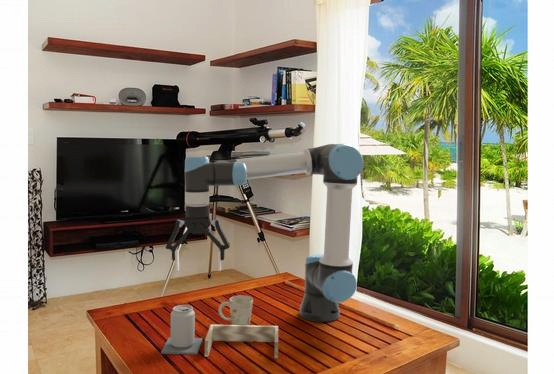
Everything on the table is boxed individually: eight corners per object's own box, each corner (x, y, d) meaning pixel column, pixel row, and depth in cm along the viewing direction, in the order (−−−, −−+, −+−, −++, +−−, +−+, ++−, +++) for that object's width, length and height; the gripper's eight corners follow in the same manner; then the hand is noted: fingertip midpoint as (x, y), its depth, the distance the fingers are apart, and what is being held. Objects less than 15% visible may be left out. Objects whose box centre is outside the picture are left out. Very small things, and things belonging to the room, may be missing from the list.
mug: (249, 332, 164) (249, 303, 163) (214, 328, 166) (214, 300, 166) (255, 323, 172) (255, 296, 171) (221, 320, 174) (221, 293, 174)
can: (183, 351, 146) (183, 313, 145) (165, 345, 150) (165, 308, 149) (199, 343, 152) (199, 306, 151) (181, 338, 156) (182, 302, 155)
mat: (202, 339, 157) (202, 338, 157) (197, 354, 146) (197, 352, 146) (168, 339, 157) (168, 337, 157) (160, 353, 146) (160, 351, 146)
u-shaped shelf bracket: (277, 340, 157) (278, 325, 157) (277, 358, 144) (278, 342, 144) (210, 339, 157) (210, 324, 157) (204, 356, 144) (204, 340, 144)
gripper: (237, 203, 157) (237, 266, 159) (160, 203, 156) (162, 267, 158) (235, 206, 149) (236, 273, 151) (155, 206, 149) (157, 273, 151)
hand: (198, 270), depth 155 cm, fingers open, 13 cm apart
